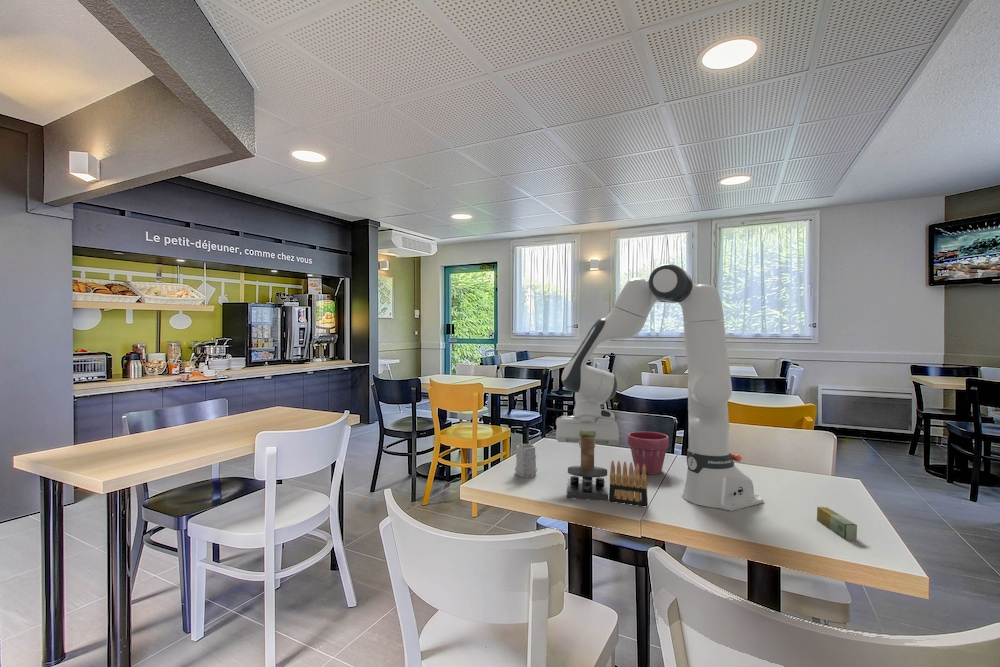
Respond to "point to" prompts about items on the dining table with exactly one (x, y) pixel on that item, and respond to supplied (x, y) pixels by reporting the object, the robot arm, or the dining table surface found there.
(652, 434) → the plant pot
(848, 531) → the medication box
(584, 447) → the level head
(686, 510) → the dining table surface
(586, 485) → the stand
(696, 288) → the robot arm
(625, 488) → the ammunition clip
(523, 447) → the mug
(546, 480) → the dining table surface
